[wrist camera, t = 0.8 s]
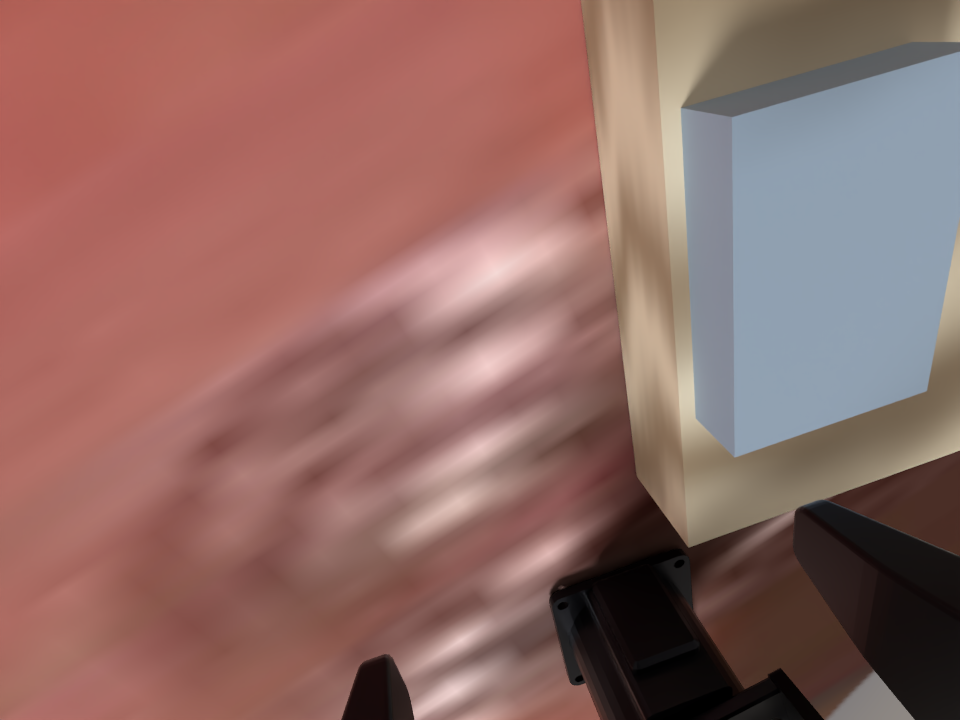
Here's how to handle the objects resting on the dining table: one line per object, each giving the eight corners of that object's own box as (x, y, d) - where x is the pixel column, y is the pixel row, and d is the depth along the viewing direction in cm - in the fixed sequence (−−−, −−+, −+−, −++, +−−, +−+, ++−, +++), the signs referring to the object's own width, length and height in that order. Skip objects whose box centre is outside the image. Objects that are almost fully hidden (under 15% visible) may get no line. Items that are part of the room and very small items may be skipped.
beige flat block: (877, 393, 25) (964, 448, 22) (636, 476, 24) (688, 547, 21) (965, -239, 15) (1150, -319, 12) (564, -143, 14) (640, -201, 11)
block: (871, 359, 19) (926, 390, 17) (695, 418, 18) (734, 457, 17) (912, 41, 14) (992, 41, 13) (680, 107, 14) (731, 117, 12)
